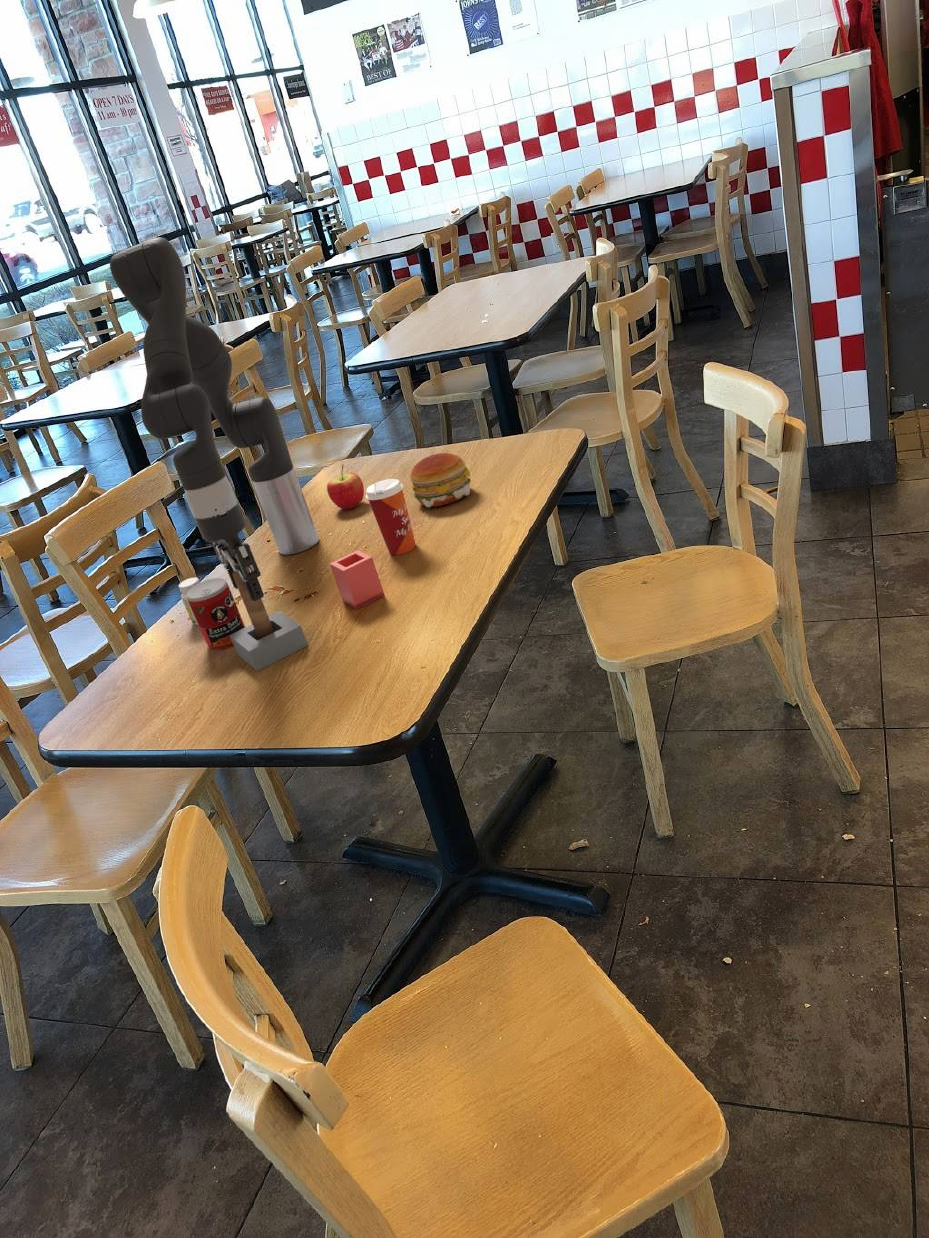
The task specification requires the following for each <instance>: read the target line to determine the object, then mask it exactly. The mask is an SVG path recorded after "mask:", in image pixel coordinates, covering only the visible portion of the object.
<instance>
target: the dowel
mask: <svg viewBox="0 0 929 1238" xmlns="http://www.w3.org/2000/svg"><path fill="white" fill-rule="evenodd" d="M246 571H247V573H250V572H251V570H250V568H248V567H247V568H246ZM232 575H233V578H234V580H235V583H236V585H237V587H238V589H237V590H238V592H239V594H240V597H241V599H242V601H243V602H242V603H243V604H244V607H245V609H246V612H247V614H248V617H249V620H250V622H251V624H253V627H254V629H255V631H256V634H257V636H258V639H259V640H260V639H262V638H264V637H266V636H268V635H270V634H272V633H274V629H273V627H272V624H271V622H270V619H269V617H268V616H269V615H268V613H267V609H266V607H265V605H264V602H263V600H262V599H263V598H261V599H259V600H257V601H253V600H251V598H250V596H249V593H248V591H247V588H246V586H245V583H244V581H243V580H242V578H241V576H240V574H239V573H238V572H235V571H234V572H233V573H232Z"/></svg>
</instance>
